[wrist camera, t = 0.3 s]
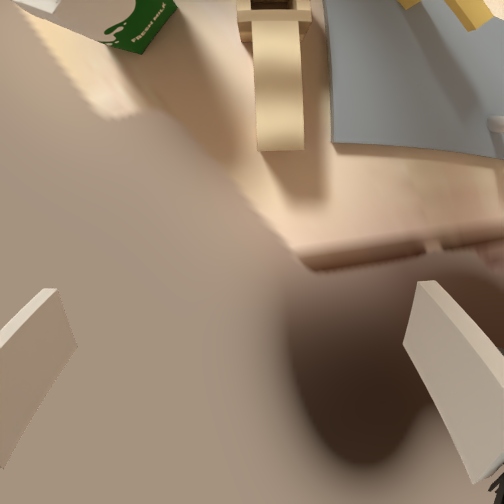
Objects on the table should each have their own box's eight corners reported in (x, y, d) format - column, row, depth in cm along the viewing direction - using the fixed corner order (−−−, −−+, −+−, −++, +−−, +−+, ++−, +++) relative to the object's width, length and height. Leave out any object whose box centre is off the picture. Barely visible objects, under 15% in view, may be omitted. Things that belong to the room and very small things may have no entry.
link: (239, -6, 26) (235, -34, 19) (297, -7, 25) (306, -34, 19) (246, 147, 32) (243, 151, 26) (306, 146, 32) (318, 150, 26)
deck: (319, -27, 24) (340, -73, 14) (498, 21, 23) (546, 9, 13) (331, 141, 32) (362, 148, 22) (507, 160, 31) (560, 175, 21)
